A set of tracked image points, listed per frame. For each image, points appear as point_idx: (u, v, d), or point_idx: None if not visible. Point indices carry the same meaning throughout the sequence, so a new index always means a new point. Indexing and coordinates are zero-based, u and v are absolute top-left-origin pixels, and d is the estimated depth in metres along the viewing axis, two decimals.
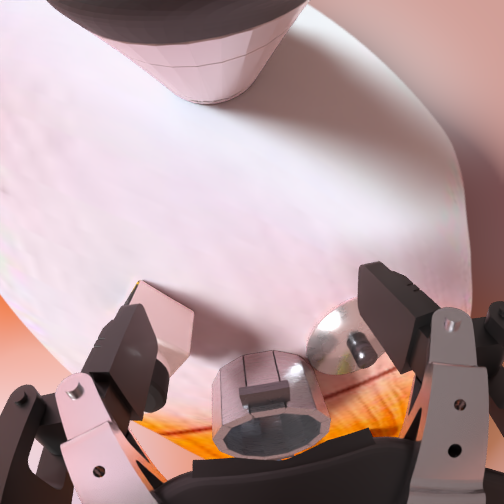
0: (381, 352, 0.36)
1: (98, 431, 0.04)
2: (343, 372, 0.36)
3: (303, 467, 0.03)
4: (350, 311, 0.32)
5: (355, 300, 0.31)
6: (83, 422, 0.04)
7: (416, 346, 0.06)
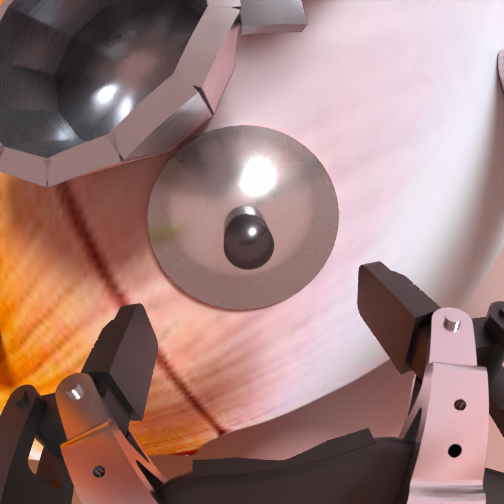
0: (200, 293, 0.21)
1: (98, 431, 0.04)
2: (152, 224, 0.19)
3: (304, 467, 0.03)
4: (317, 196, 0.19)
5: (336, 201, 0.19)
6: (83, 422, 0.04)
7: (416, 346, 0.06)
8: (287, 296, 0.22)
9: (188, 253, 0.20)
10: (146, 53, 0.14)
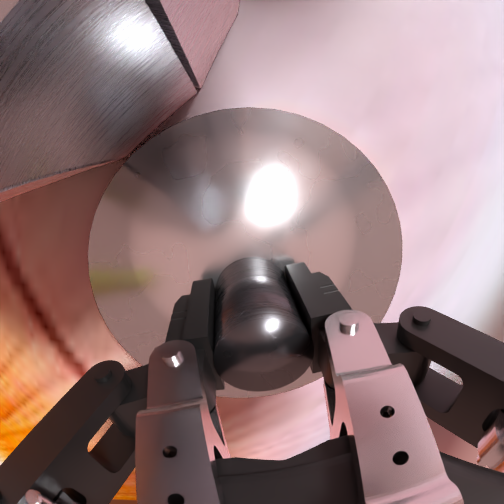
0: None
1: (185, 410, 0.04)
2: (97, 284, 0.10)
3: (303, 466, 0.03)
4: (374, 238, 0.11)
5: (400, 245, 0.11)
6: (171, 393, 0.05)
7: (319, 347, 0.07)
8: (312, 379, 0.13)
9: (159, 329, 0.11)
10: None
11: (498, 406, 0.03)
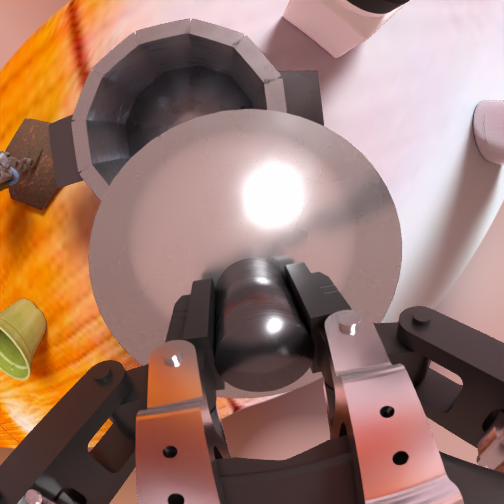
0: None
1: (185, 410, 0.04)
2: (98, 285, 0.10)
3: (304, 466, 0.03)
4: (374, 239, 0.11)
5: (400, 246, 0.11)
6: (171, 393, 0.05)
7: (319, 347, 0.07)
8: (312, 380, 0.13)
9: (160, 330, 0.11)
10: None
11: (498, 406, 0.03)
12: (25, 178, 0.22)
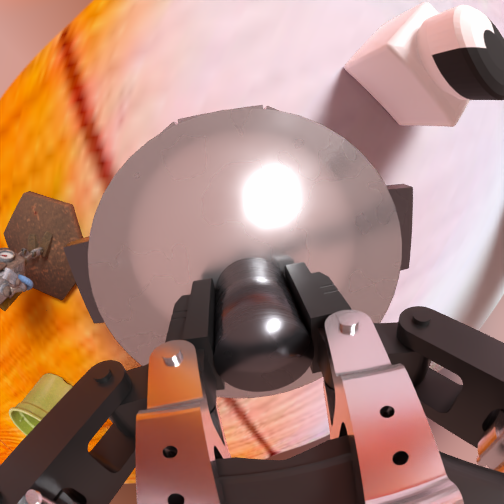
0: None
1: (185, 410, 0.04)
2: (97, 285, 0.10)
3: (303, 467, 0.03)
4: (374, 238, 0.11)
5: (400, 245, 0.11)
6: (171, 393, 0.05)
7: (319, 347, 0.07)
8: (312, 380, 0.13)
9: (159, 330, 0.11)
10: None
11: (498, 406, 0.03)
12: (36, 264, 0.20)
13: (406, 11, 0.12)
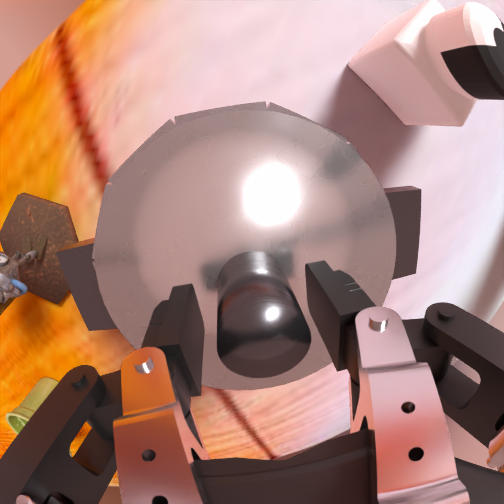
0: None
1: (159, 413, 0.04)
2: (103, 278, 0.11)
3: (303, 466, 0.03)
4: (369, 233, 0.11)
5: (394, 241, 0.12)
6: (145, 399, 0.05)
7: (346, 344, 0.07)
8: (311, 372, 0.14)
9: None
10: None
11: None
12: (31, 268, 0.19)
13: (411, 8, 0.11)
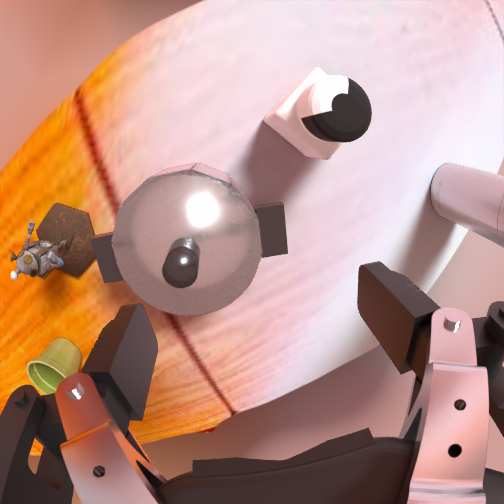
0: (155, 302, 0.26)
1: (98, 431, 0.04)
2: (117, 250, 0.24)
3: (304, 466, 0.03)
4: (241, 229, 0.24)
5: (258, 233, 0.25)
6: (83, 422, 0.04)
7: (415, 346, 0.06)
8: (222, 306, 0.27)
9: (144, 272, 0.25)
10: None
11: None
12: (60, 252, 0.32)
13: (306, 74, 0.25)
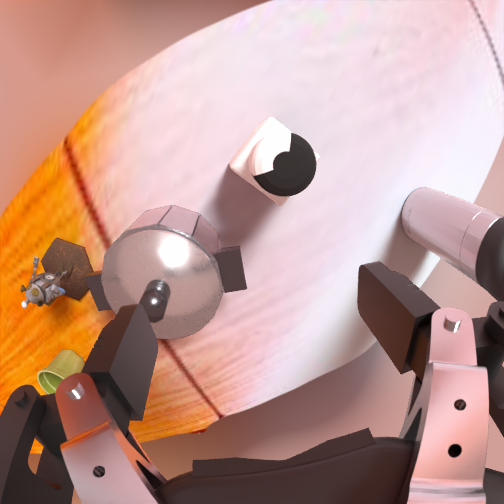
0: None
1: (98, 431, 0.04)
2: (105, 288, 0.29)
3: (303, 466, 0.03)
4: (202, 273, 0.29)
5: (216, 275, 0.29)
6: (83, 422, 0.04)
7: (416, 347, 0.06)
8: (192, 332, 0.32)
9: None
10: None
11: None
12: (63, 279, 0.37)
13: None
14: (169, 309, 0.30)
